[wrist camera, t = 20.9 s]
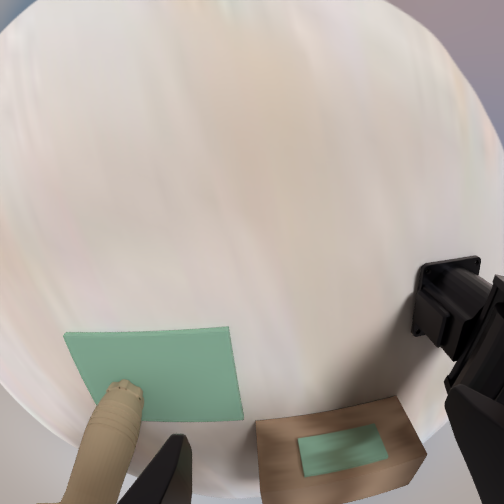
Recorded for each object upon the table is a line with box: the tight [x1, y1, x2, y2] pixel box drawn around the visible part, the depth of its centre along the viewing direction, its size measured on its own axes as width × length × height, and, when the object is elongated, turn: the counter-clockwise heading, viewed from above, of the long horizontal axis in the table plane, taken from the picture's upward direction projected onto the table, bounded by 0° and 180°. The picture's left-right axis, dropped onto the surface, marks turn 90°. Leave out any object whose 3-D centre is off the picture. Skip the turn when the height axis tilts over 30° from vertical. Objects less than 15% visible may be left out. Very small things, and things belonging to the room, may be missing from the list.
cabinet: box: [256, 396, 427, 504], centre depth 23 cm, size 14×8×8 cm, turn 95°
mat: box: [63, 327, 244, 422], centre depth 23 cm, size 14×10×1 cm
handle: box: [37, 379, 144, 504], centre depth 16 cm, size 5×6×15 cm
